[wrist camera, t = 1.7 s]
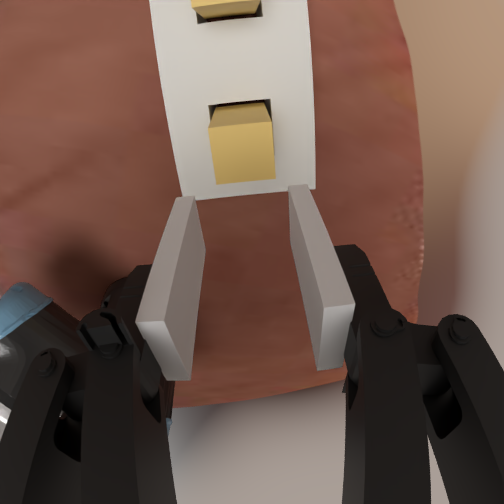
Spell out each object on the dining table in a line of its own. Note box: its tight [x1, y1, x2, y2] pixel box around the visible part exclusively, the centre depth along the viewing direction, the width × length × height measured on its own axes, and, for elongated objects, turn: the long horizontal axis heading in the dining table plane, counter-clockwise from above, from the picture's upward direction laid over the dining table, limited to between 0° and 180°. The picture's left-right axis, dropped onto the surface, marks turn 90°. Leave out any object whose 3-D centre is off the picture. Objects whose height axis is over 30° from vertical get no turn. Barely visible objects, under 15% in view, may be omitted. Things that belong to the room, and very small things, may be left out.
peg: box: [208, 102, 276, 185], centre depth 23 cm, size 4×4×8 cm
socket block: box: [149, 0, 315, 200], centre depth 25 cm, size 24×12×8 cm, turn 5°
